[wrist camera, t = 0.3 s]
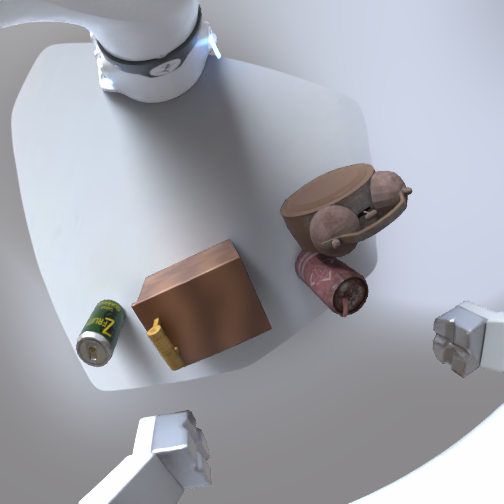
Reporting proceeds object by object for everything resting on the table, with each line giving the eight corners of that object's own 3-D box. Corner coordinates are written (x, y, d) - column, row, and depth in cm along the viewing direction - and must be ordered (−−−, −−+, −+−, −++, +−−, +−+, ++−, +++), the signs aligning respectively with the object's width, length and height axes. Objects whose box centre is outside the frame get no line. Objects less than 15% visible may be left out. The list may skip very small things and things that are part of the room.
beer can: (125, 328, 46) (112, 371, 35) (96, 323, 45) (76, 364, 34) (126, 300, 45) (110, 339, 34) (95, 295, 44) (72, 332, 32)
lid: (174, 367, 40) (173, 389, 35) (132, 303, 36) (125, 322, 32) (270, 326, 41) (280, 345, 37) (238, 254, 37) (246, 267, 33)
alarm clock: (287, 242, 48) (347, 291, 29) (264, 204, 45) (317, 233, 27) (356, 196, 48) (440, 217, 29) (338, 158, 46) (421, 160, 27)
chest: (179, 334, 49) (178, 365, 40) (145, 277, 45) (137, 301, 36) (257, 300, 50) (270, 326, 41) (229, 238, 46) (238, 254, 37)
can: (293, 283, 50) (328, 322, 37) (294, 247, 48) (332, 277, 35) (326, 279, 51) (367, 315, 38) (328, 244, 49) (373, 272, 36)
